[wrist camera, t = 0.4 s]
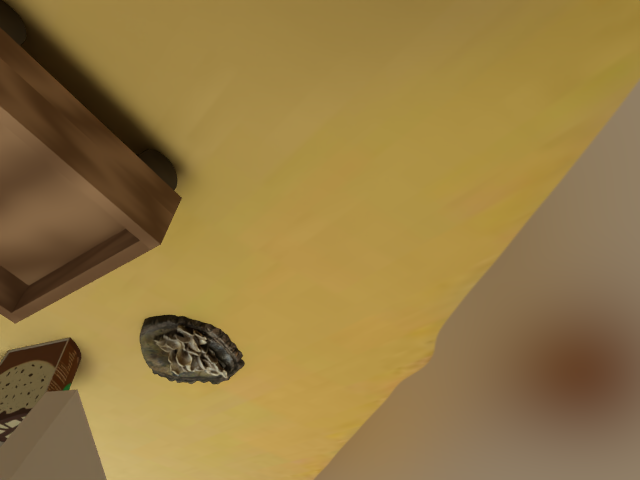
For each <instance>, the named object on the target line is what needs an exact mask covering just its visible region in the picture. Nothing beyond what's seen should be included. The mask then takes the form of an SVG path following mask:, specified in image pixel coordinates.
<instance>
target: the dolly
mask: <svg viewBox="0 0 640 480" xmlns="http://www.w3.org/2000/svg"><path fill="white" fill-rule="evenodd" d="M25 39H26V29H25V26H24V23H23V21H22V20H21V18H20V17H19V15H18V14H17V13H16V12H15V11H14V10H13V9H12V8H11V7H10V6H9V5H8V4H6V3H5V2H3V1H2V0H0V314H1V315H3V316H4V317H6V318H7V319H9V320H11V321H12V322H14V323H17V322H19V321H21V320H23V319H25V318H26V317H28V316H30V315H32V314H34V313H36V312H37V311H39V310H41V309H43V308H45V307H47V306H48V305H50V304H52V303H54V302H56V301H58V300H59V299H61V298H63V297H65V296H67V295H69V294H71V293H72V292H74V291H76V290H78V289H80V288H82V287H83V286H85V285H87V284H89V283H91V282H93V281H94V280H96V279H98V278H100V277H102V276H104V275H105V274H107V273H109V272H111V271H113V270H115V269H116V268H118V267H120V266H122V265H124V264H126V263H127V262H129V261H131V260H133V259H135V258H137V257H138V256H140V255H142V254H144V253H146V252H148V251H149V250H151V249H153V248H155V247H157V246H159V245H161V243H162V240H163V238H164V236H165V234H166V232H167V229H168V227H169V225H170V223H171V221H172V218H173V216H174V214H175V212H176V210H177V207H178V205H179V203H180V201H181V197H180V196H179V195H178V194H177V193H176V192H175V191H174V190H175V188H176V186H177V175H176V172H175V169H174V167H173V165H172V164H171V162H170V161H169V160H168V159H167V158H166V157H165V156H164V155H163V154H161V153H159V152H157V151H155V150H146V151H144V152H143V153H141V154H140V155H138V156H137V155H136V154H135V153H133V152H132V151H131V150H130V149H129V148H128V147H127V146H126V145H125V144H124V143H123V142H122V141H121V140H120V139H119V138H117V137H116V136H115V135H114V134H113V133H112V132H111V131H110V130H109V129H108V128H107V127H106V126H105V125H104V124H103V123H101V122H100V121H99V120H98V119H97V118H96V117H95V116H94V115H93V114H92V113H91V112H90V111H89V110H88V109H87V108H86V107H84V106H83V105H82V104H81V103H80V102H79V101H78V100H77V99H76V98H75V97H74V96H73V95H72V94H71V93H70V92H68V91H67V90H66V89H65V88H64V87H63V86H62V85H61V84H60V83H59V82H58V81H57V80H56V79H55V78H54V77H53V76H51V75H50V74H49V73H48V72H47V71H46V70H45V69H44V68H43V67H42V66H41V65H40V64H39V63H38V62H37V61H35V60H34V59H33V58H32V57H31V56H30V55H29V54H28V53H27V52H26V51H25V50H24V49H23V48H22V47H21V46H20V45H21V44H22V43H23V42H24V41H25Z"/></svg>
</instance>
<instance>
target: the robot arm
mask: <svg viewBox="0 0 640 480" xmlns="http://www.w3.org/2000/svg"><path fill="white" fill-rule="evenodd" d="M0 480H107V479H106V476H105V473H104V470H103V467H102V464H101V461H100V458H99V455H98V451H97V448H96V445H95V442H94V439H93V436H92V433H91V430H90V427H89V424H88V421H87V418H86V415H85V412H84V409H83V405H82V402H81V399H80V396H79V393H78V390H65V391H51V392H46V393H45V394H44V395H43V396H42V398H41V399H40V400H39V401H38V402H37V404H36V405H35V406H34V407H33V408H32V410H31V411H30V412H29V413H28V414H27V416H26V417H25V418H24V419H23V421H22V422H21V423H20V424H19V425H18V427H17V428H16V429H15V430H14V431H13V433H12V434H11V435H10V436H9V437H8V439H7V440H6V441H5V442H4V443H3V445H2V446H1V447H0Z"/></svg>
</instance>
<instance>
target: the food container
mask: <svg viewBox="0 0 640 480" xmlns="http://www.w3.org/2000/svg"><path fill="white" fill-rule="evenodd" d="M80 360H81V353H80V350H79V348H78V346H77V345H76V343H75V342H74V341H73V340H72V339H71V338H65V339H60V340H55V341H50V342H46V343H41V344H36V345H31V346H27V347H22V348H17V349H12V350H8V352H7V353H6V355H5V356H4V358H3V359H2V360H1V362H0V447H1V446H2V445H3V443H4V442H5V441H6V440H7V439H8V437H9V436H10V435H11V434H12V433H13V431H14V430H15V429H16V428H17V427H18V425H19V424H20V423H21V422H22V421H23V419H24V418H25V417H26V416H27V414H28V413H29V412H30V411H31V410H32V408H33V407H34V406H35V405H36V404H37V402H38V401H39V400H40V399H41V398H42V396H43V395H44V394H45V393H46V392H51V391H65V390H69V389H70V386H71V384H72V381H73V378H74V376H75V373H76V371H77V368H78V365H79V363H80Z"/></svg>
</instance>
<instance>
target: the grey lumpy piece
mask: <svg viewBox="0 0 640 480" xmlns="http://www.w3.org/2000/svg"><path fill="white" fill-rule="evenodd" d="M140 344H141V350H142V354H143V356H144V359H145V361H146V363H147V364H148V366H149V368H151V369H152V371H153V373H154V374H158V375H159V376H161V377H166V378H167V379H168V380H169V381H174V380H176V381H177V383H180V382H188V383H190V384H193V383H194V382H196V381H201V382H203V383H206V382H208V381H210V382H211V383H212V384H219V383H220V382H222V381H225V380H229V379H230V377H231V376H233V375H234V374H235V373H236V372H237V371H238V370H239V369H241V368H242V367H243V366H244V364H245V363H244V361H243V360H242V359H241V358H242V356H243V355H242V353H241V352H240V351H239V350H238V349H237V347H236V345H235V344H234V343H233V342H231V340H230V338H229V336H228V335H227V334H225V333H224V332H223V331H221V329H219V328H216V327H214V326H213V325H211V324H207V323H203V322H200V321H197V320H192V319H189V318H187V317H184V316H180V317H178V316H176V315H163V316H154V317H149V318H147V319H145V320H144V323H143V326H142V329H141V333H140Z"/></svg>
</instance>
